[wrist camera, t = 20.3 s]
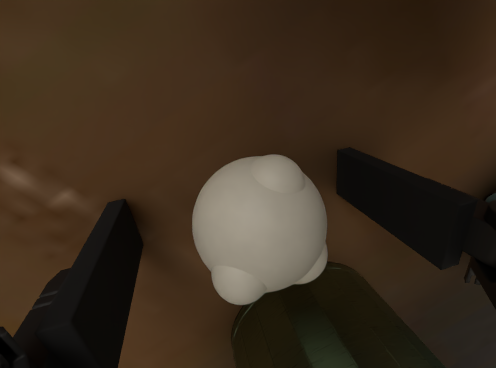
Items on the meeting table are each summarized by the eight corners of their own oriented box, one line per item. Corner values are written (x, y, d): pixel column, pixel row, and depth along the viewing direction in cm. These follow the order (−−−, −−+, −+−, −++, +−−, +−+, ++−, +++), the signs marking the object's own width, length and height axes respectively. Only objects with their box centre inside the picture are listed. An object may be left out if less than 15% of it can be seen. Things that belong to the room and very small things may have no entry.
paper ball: (166, 179, 12) (156, 257, 7) (265, 120, 12) (330, 151, 7) (225, 255, 14) (251, 352, 9) (306, 205, 15) (375, 275, 9)
